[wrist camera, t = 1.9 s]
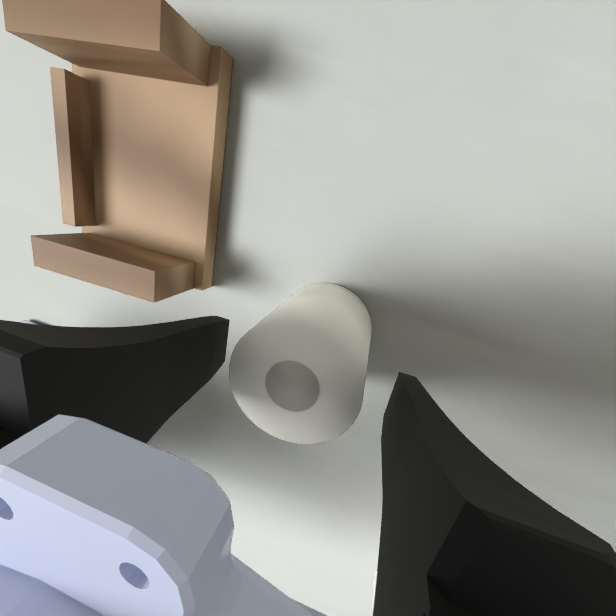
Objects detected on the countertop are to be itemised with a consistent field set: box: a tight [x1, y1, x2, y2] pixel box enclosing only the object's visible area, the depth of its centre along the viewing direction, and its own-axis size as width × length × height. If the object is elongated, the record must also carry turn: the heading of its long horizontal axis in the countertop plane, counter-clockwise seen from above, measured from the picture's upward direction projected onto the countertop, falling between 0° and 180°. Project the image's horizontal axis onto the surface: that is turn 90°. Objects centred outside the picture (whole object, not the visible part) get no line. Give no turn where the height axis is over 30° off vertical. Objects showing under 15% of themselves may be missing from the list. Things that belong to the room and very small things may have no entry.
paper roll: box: [229, 283, 372, 444], centre depth 13 cm, size 5×5×6 cm
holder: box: [2, 0, 233, 302], centre depth 14 cm, size 11×8×4 cm
